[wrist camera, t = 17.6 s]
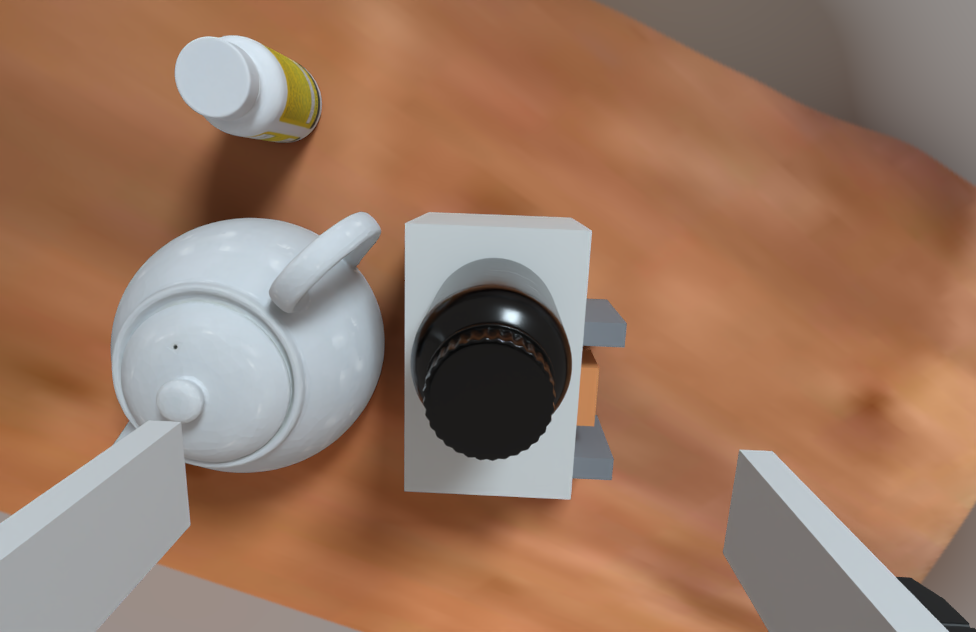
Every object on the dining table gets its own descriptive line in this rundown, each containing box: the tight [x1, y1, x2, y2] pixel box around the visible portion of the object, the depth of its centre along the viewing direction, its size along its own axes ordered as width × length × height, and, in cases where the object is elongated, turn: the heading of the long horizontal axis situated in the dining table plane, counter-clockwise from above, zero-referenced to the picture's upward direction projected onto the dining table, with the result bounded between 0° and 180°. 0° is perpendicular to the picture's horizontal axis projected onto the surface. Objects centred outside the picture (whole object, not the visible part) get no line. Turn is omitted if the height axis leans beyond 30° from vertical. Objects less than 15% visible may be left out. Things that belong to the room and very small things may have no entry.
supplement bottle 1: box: [175, 36, 322, 143], centre depth 34 cm, size 5×5×10 cm
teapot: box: [111, 212, 385, 473], centre depth 36 cm, size 19×18×14 cm
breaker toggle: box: [576, 350, 599, 426], centre depth 39 cm, size 8×4×4 cm, turn 88°
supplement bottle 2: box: [410, 258, 572, 461], centre depth 26 cm, size 7×7×12 cm
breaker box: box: [404, 212, 627, 500], centre depth 38 cm, size 13×16×10 cm
